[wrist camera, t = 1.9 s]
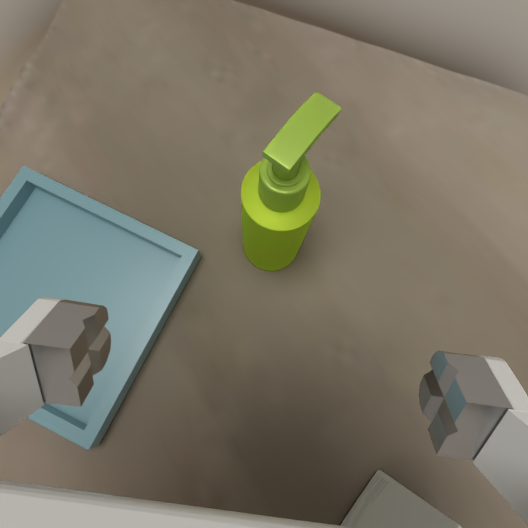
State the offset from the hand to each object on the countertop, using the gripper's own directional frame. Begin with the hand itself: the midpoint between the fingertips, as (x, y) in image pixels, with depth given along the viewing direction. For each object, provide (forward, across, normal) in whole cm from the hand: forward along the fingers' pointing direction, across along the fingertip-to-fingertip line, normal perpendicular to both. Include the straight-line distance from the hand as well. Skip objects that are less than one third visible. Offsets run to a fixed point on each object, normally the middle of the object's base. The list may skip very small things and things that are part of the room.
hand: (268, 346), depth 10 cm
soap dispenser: (+30, 0, +12) cm, 32 cm away
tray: (+23, +20, +19) cm, 36 cm away
